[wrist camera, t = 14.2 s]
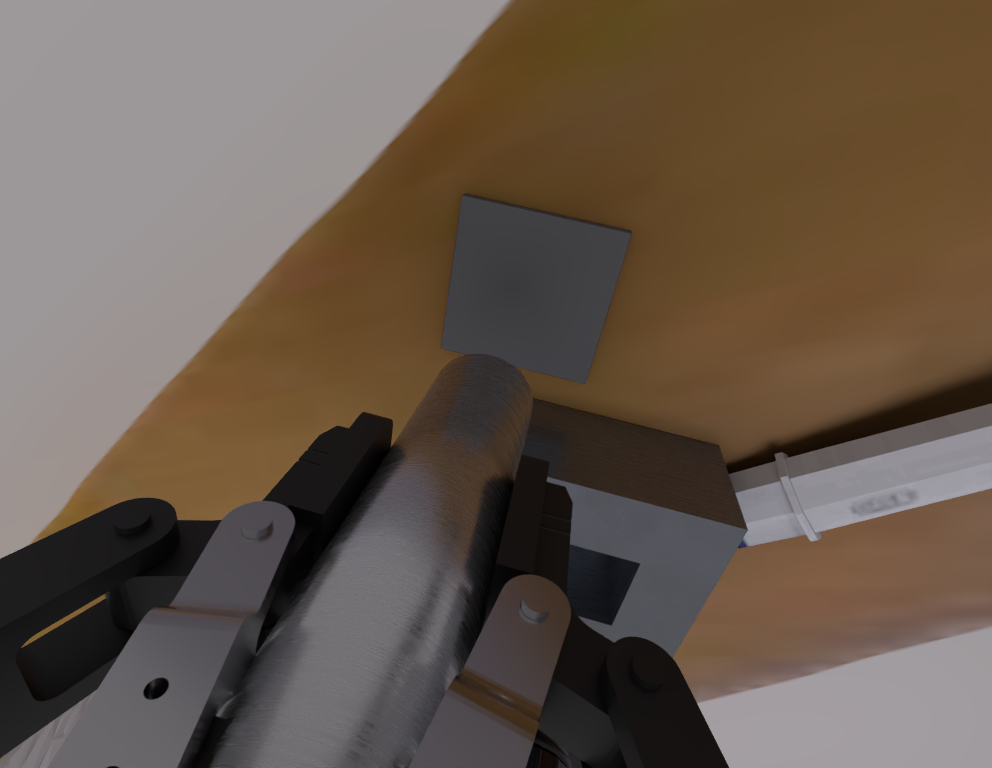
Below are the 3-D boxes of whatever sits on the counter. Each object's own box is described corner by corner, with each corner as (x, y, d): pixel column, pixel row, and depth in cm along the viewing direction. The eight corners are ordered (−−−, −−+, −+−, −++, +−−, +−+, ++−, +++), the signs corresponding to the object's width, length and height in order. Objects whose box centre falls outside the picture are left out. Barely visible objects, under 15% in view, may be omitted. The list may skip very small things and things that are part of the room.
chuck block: (439, 374, 29) (399, 437, 23) (718, 445, 28) (748, 529, 22) (417, 525, 35) (382, 604, 29) (647, 588, 34) (656, 684, 28)
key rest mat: (465, 193, 24) (462, 195, 24) (631, 231, 24) (631, 233, 23) (443, 343, 28) (440, 348, 28) (585, 379, 28) (585, 384, 27)
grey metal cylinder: (419, 414, 18) (-62, 1177, 5) (457, 335, 16) (-104, 1155, 3) (504, 459, 18) (266, 1309, 5) (551, 384, 16) (383, 1351, 3)
